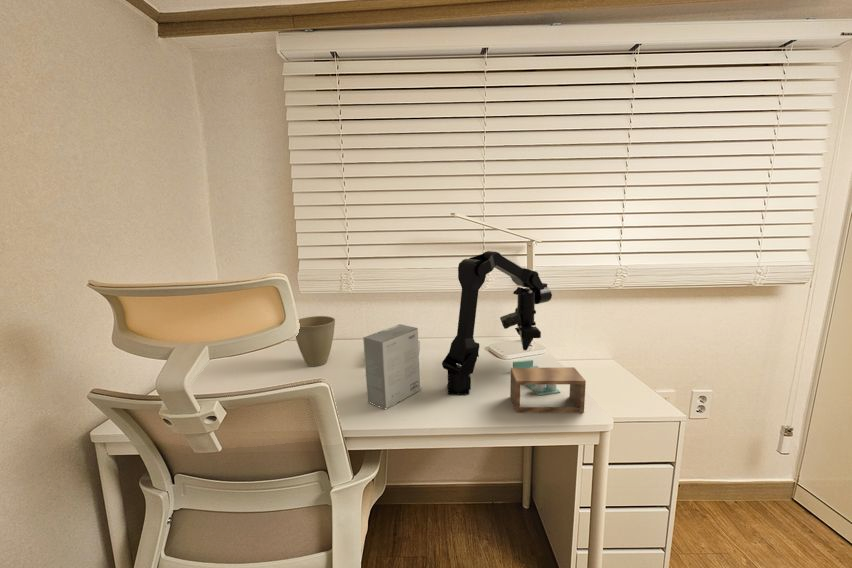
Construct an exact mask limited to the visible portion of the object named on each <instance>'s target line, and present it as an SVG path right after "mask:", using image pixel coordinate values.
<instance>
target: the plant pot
mask: <svg viewBox="0 0 852 568" xmlns="http://www.w3.org/2000/svg"><path fill="white" fill-rule="evenodd" d="M299 323H300V329H299V333H298V335H297V336H296V337H295V339H296V343H297V346H298V349H299V351H300V354H301V356H302V358H303V360H304V363H305V364H306V366H308V367H320V365H321V366H324V365H325V364H327V362H328V360H329V356H330V354H331V350H332V346H333V341H334V334H335V326H336V318H334V317H331V316H325V315H315V316H308V317H301V318H299ZM323 364H324V365H323Z"/></svg>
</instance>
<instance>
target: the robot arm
mask: <svg viewBox="0 0 852 568" xmlns="http://www.w3.org/2000/svg"><path fill="white" fill-rule="evenodd" d="M495 269H497V270H498V271H499V272H502V273H504V274H506V276H508V277H509V278H511V281H512V282H513V283H514V284H515V285H517V286H518V287H517V288H516V289H514V291H513V292H512V294H514V295H517V306H516V308H515V309H514V311H513V312H511V313H508V314H505V315H502V316H500V317H499V319H500V322H501V325H502V326H503V329H506V330H507V329H509V328H511V327H513V326H517V327H515V328H514V329H515V331H516V333H517V334H518V335H519V336H520V341H521V345H522V350H523V351H527V350H528V348H529V347H530V345H531V343H532V341H533V339H541V338H542V337H541V336H542V331H541V330H540V329H539V328H538V327H537V326H536V325H537V324H536V321H535V315H536V314H537V310H536V307H535V306H536V305H541V304H544V303H548V302H550V301H551V300H552V298H553V297H552V296H553V293H552V290H551V289H550V288H549V287H548V283H544V282H542V280H541V278H540V276H539V275H540V274H539V273H538V271H536V270H534V269H530V268H525V267H523V266H522V267H521V266H520V265H518V264H517V263H515V262H514V261H512V260H510V259H508V258H507V257H505V256H504V255H502V254H501V252H498V251H492V250H487V251H484V252H482V253H481V254H478V255H475V256H471V257H469V258H464V259H462V260H461V261H460V262H459V263H458V267H457V274H458V275H457V277H458V281H459V283H460V286H461V293H460V294H461V295H460V302H459V303H460V304H459V312H458V313H459V315H458V324H457V330H456V331H457V333H456V336H455V337H454V338H453V340H452V341H451V343H450V347H449V350H448V352H447V355H446V356H445V357H444V359H443V361H442V362H441V365H442V368H443V369H444V370H446V371H447V384H446V385H447V386H446V387H447V395H470V390H471V388H472V387H471V386H472V384H471V380H472V379H471V378H472V377H471V375H472V374H473V373H474V370H475V366H476V364H477V360H478V358H479V356H480V355H479V351H480V343H479V342H476V341H475V339H474V334H475V324H476V315H477V307H478V306H477V305H478V299H479V291H480V288H481V287H482V286H483V284H484V283H485V282H486V281H485V280H486V276H487V275H488V274H489V273H491V272H493V270H495Z"/></svg>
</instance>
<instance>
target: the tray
mask: <svg viewBox="0 0 852 568" xmlns="http://www.w3.org/2000/svg"><path fill="white" fill-rule="evenodd" d="M512 368H540V367H539V366H538V365H534V360H533V359H527V360H520V361H519V360H518V361H512ZM526 386H527V387H529V389H531V391H533V392H534V393H535V394H536V395H537V396H547V395H555V394H561V391H560V390H559V389H557V384H536V385H526Z"/></svg>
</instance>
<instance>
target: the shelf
mask: <svg viewBox="0 0 852 568" xmlns="http://www.w3.org/2000/svg"><path fill="white" fill-rule="evenodd" d="M536 384H556V385H569V399H570V400H571V401H572V402H573V405H574V406H571V407H570V406H569V407H568V406H564V407H563V406H557V407H556V406H555V407H554V406H524V407H523V406H521V385H525V386H527V385H536ZM509 385H510V390H509V391H510V392H509V398H510V400H511V403H512V405H513V408H514V410H515V413H585V403H586V402H585V401H586V398H585V397H586V379H585V378H584V376H582V374H580V372H579V371H578V370H577V368H575V367H573V366H572V367H571V366H570V367H539V368H513V367H510V384H509Z"/></svg>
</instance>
